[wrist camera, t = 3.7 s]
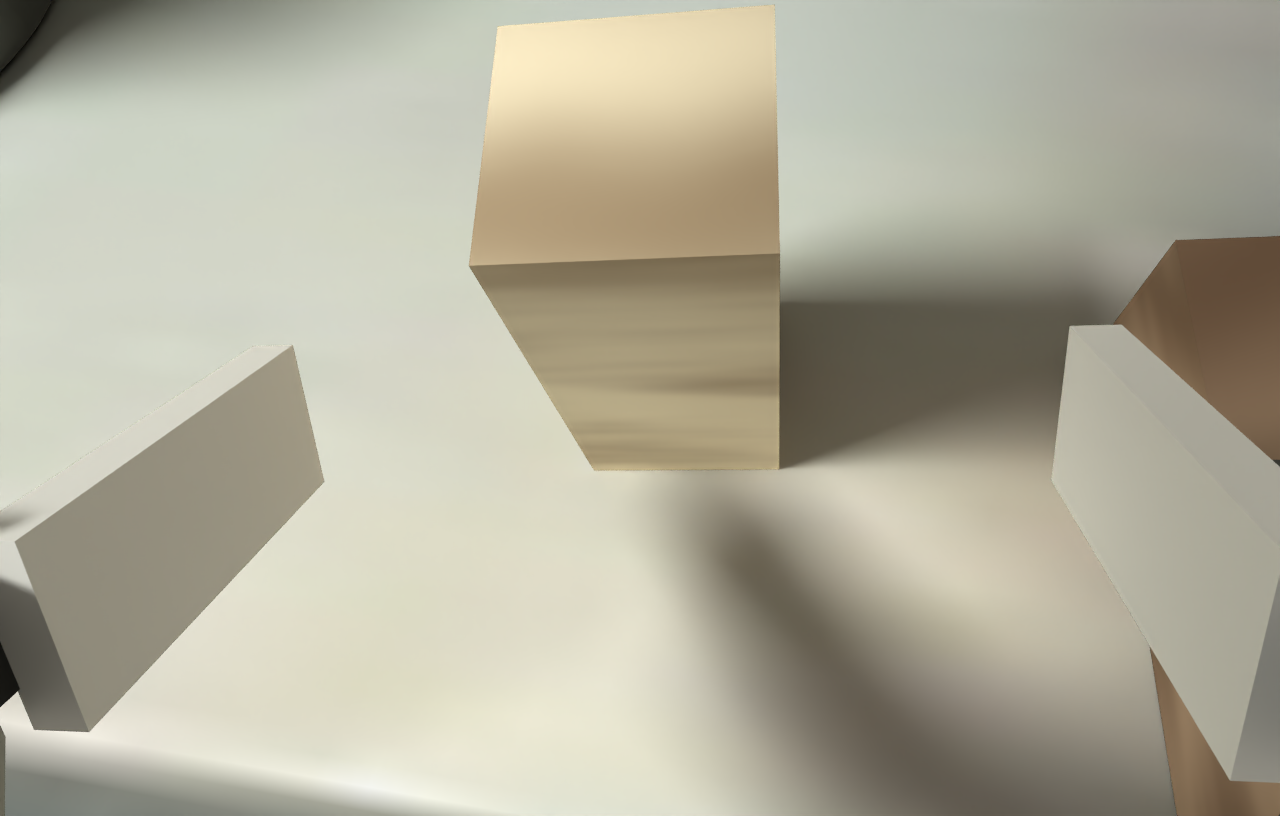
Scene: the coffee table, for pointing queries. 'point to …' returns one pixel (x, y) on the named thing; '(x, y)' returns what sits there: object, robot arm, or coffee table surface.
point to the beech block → (640, 231)
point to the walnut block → (1249, 399)
